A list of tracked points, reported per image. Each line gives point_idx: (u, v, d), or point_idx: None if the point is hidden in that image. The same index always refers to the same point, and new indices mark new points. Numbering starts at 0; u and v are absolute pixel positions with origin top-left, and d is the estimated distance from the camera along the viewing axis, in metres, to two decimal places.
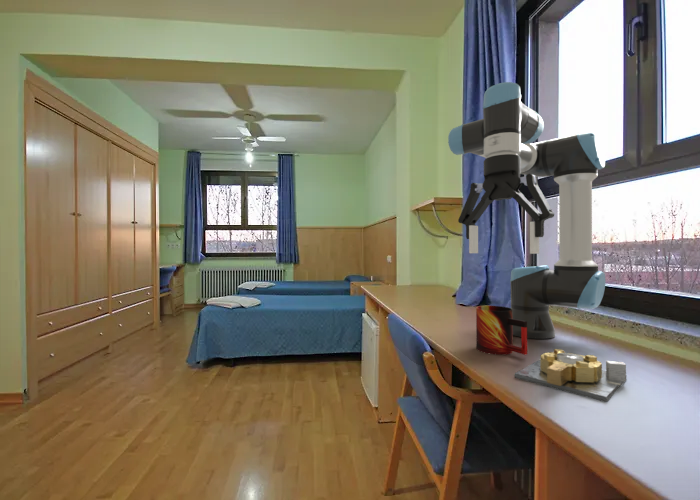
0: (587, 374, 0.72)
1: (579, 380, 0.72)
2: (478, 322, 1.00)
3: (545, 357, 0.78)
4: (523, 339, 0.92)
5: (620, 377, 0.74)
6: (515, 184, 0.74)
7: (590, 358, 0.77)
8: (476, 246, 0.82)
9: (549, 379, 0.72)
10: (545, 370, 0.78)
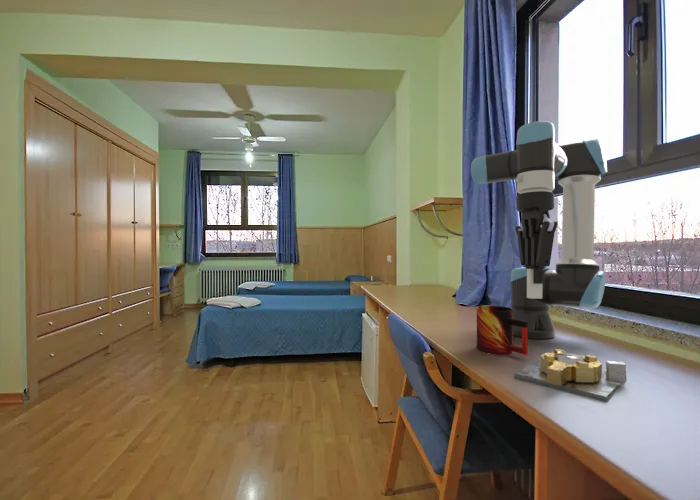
0: (587, 374, 0.72)
1: (579, 380, 0.72)
2: (478, 322, 1.00)
3: (545, 357, 0.78)
4: (523, 339, 0.92)
5: (620, 377, 0.74)
6: (537, 221, 0.75)
7: (590, 358, 0.77)
8: None
9: (549, 379, 0.72)
10: (545, 370, 0.78)
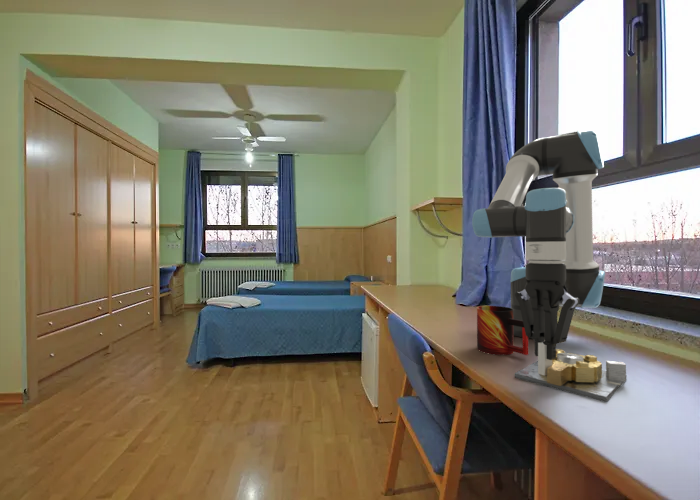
0: (587, 374, 0.72)
1: (579, 380, 0.72)
2: (479, 322, 0.99)
3: None
4: (524, 339, 0.92)
5: (620, 377, 0.74)
6: (555, 295, 0.71)
7: (590, 358, 0.77)
8: None
9: (549, 379, 0.72)
10: None
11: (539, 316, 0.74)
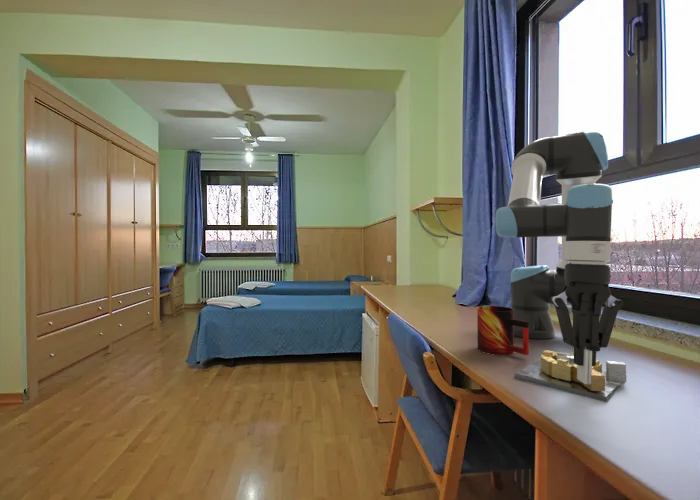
0: (600, 371, 0.74)
1: None
2: (479, 322, 0.99)
3: (561, 362, 0.74)
4: (525, 339, 0.92)
5: (620, 377, 0.74)
6: (604, 297, 0.68)
7: None
8: None
9: (593, 386, 0.68)
10: (563, 376, 0.74)
11: None
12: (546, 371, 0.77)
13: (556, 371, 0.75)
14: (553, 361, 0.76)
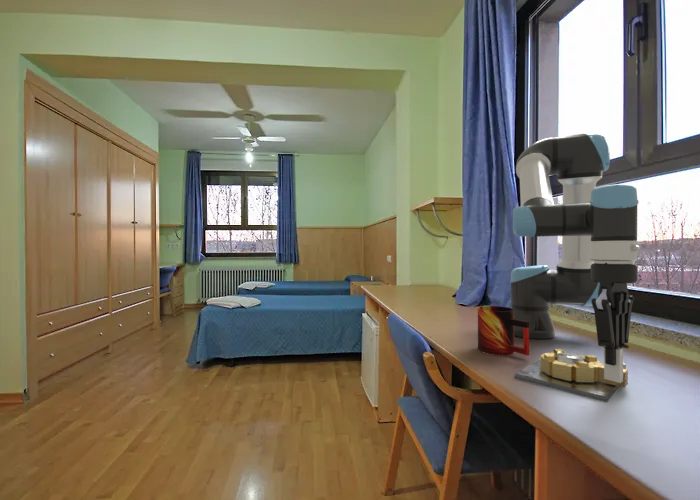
0: None
1: None
2: (480, 322, 0.99)
3: (584, 365, 0.72)
4: (525, 339, 0.91)
5: None
6: None
7: None
8: None
9: (625, 383, 0.70)
10: (587, 379, 0.72)
11: None
12: (567, 377, 0.73)
13: (581, 375, 0.72)
14: (572, 365, 0.73)
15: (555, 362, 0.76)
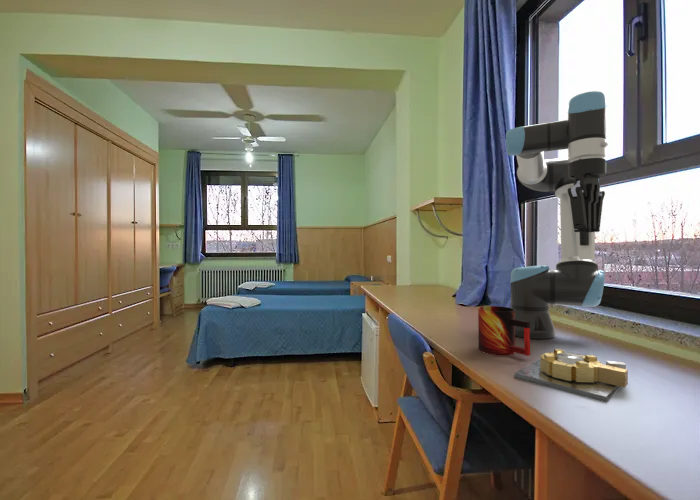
0: None
1: None
2: (480, 323, 0.99)
3: (584, 365, 0.72)
4: (526, 339, 0.91)
5: None
6: None
7: None
8: None
9: (625, 382, 0.70)
10: (587, 379, 0.72)
11: None
12: (567, 377, 0.73)
13: (581, 375, 0.72)
14: (572, 365, 0.73)
15: (555, 362, 0.76)
